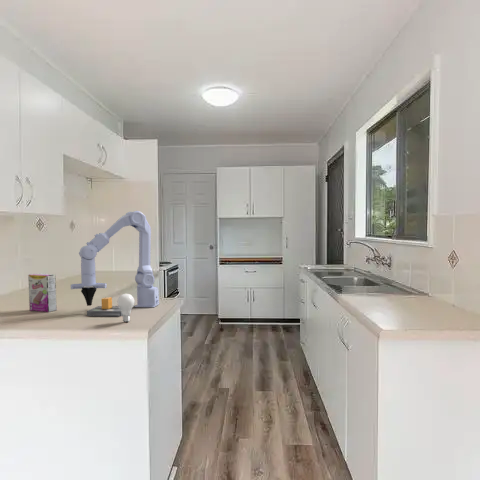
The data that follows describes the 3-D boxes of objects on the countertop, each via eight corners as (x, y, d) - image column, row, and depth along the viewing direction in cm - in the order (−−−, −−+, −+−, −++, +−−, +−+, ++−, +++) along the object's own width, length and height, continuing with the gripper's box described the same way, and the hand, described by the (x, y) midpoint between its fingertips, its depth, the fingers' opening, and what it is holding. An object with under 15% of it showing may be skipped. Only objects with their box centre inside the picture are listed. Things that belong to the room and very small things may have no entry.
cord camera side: (119, 316, 160) (119, 313, 160) (118, 317, 159) (118, 314, 158) (90, 316, 161) (90, 313, 161) (89, 316, 160) (89, 313, 160)
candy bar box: (28, 311, 173) (27, 274, 173) (37, 309, 178) (36, 273, 177) (48, 312, 170) (47, 275, 169) (57, 310, 174) (56, 273, 174)
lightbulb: (119, 320, 152) (119, 292, 152) (136, 319, 153) (135, 292, 152) (116, 324, 146) (115, 295, 146) (133, 323, 146) (132, 294, 146)
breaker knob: (112, 307, 168) (111, 297, 167) (108, 309, 164) (108, 298, 164) (105, 307, 168) (105, 297, 168) (101, 309, 164) (101, 298, 164)
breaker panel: (130, 310, 170) (130, 306, 170) (121, 316, 160) (121, 311, 160) (98, 310, 172) (98, 305, 172) (86, 315, 162) (86, 310, 162)
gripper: (108, 272, 171) (109, 302, 171) (74, 273, 170) (75, 303, 170) (103, 274, 164) (104, 306, 164) (68, 274, 163) (69, 307, 163)
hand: (89, 305), depth 167 cm, fingers closed
